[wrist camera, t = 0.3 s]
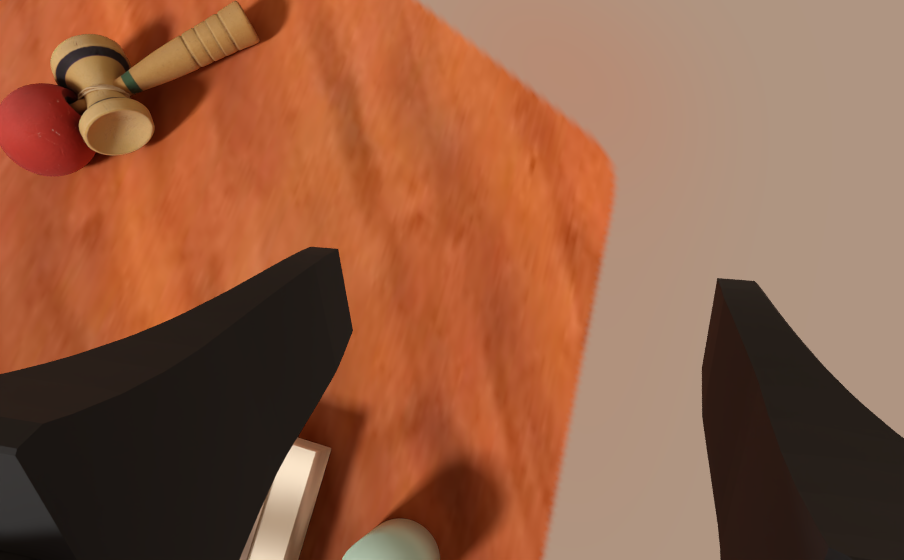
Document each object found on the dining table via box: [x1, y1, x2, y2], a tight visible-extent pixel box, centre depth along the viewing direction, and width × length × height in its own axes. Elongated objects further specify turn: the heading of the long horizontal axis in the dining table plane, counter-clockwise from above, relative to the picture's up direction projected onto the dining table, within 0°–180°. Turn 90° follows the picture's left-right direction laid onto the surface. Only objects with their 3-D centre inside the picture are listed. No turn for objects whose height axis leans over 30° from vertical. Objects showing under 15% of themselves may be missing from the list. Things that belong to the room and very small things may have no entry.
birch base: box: [239, 437, 331, 560], centre depth 41 cm, size 10×10×3 cm
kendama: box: [0, 1, 259, 176], centre depth 46 cm, size 8×6×18 cm
